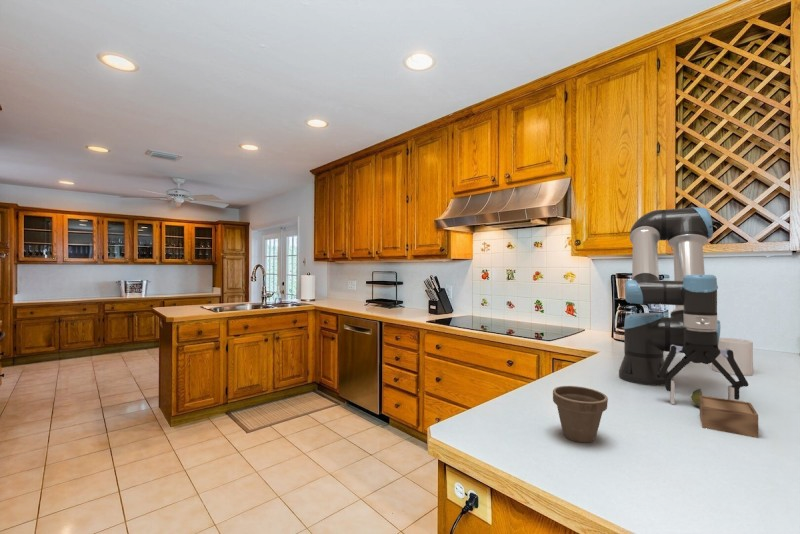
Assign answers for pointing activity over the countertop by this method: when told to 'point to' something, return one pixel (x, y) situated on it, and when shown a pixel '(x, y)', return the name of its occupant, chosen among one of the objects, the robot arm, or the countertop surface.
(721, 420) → the walnut tray
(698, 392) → the lime
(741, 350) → the cup
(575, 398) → the flower pot
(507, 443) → the countertop surface
